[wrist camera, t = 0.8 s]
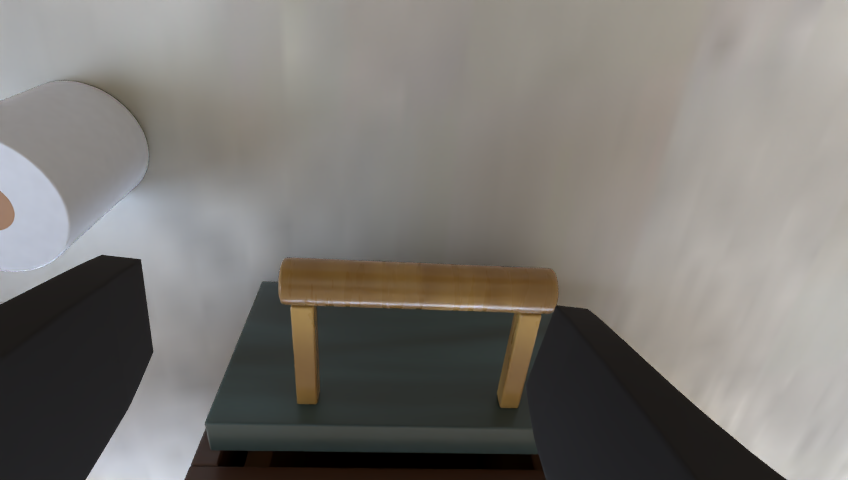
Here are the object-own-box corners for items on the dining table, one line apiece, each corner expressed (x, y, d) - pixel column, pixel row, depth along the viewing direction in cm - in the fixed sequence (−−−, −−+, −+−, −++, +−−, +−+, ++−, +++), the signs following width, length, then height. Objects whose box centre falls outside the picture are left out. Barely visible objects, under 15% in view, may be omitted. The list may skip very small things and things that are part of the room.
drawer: (250, 166, 17) (173, 280, 11) (571, 184, 18) (655, 298, 12) (283, 489, 26) (250, 644, 21) (495, 490, 27) (522, 639, 21)
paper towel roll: (120, 216, 19) (38, 296, 15) (2, 150, 17) (-129, 218, 13) (170, 132, 17) (95, 194, 13) (44, 52, 16) (-88, 92, 12)
